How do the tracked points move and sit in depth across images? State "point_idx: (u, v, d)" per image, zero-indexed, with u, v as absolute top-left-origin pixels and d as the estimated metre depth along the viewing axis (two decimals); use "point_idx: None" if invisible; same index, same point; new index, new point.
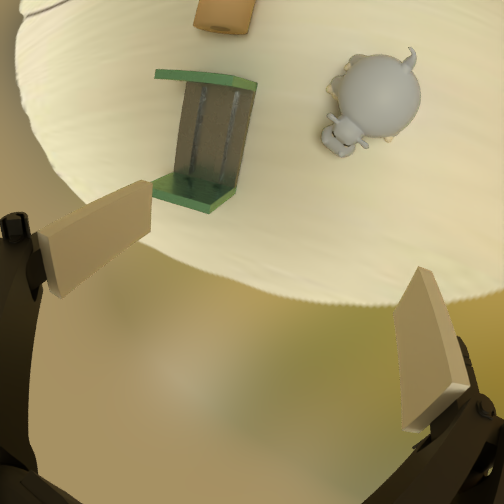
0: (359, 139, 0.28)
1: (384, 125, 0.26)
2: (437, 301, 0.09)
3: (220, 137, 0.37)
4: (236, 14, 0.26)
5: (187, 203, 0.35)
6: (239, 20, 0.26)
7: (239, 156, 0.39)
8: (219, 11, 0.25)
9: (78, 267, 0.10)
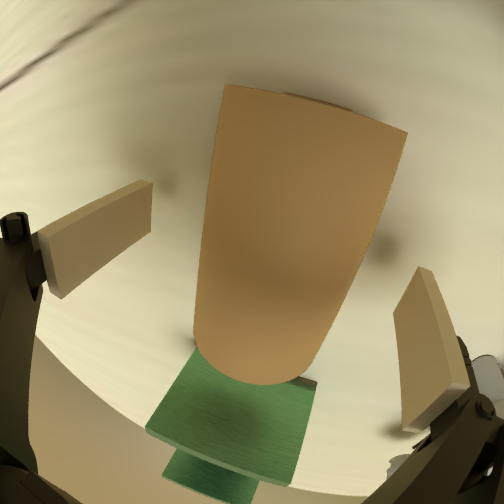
0: None
1: None
2: (437, 301, 0.09)
3: None
4: (301, 361, 0.13)
5: (220, 501, 0.23)
6: (307, 363, 0.14)
7: None
8: (261, 365, 0.12)
9: (78, 267, 0.10)
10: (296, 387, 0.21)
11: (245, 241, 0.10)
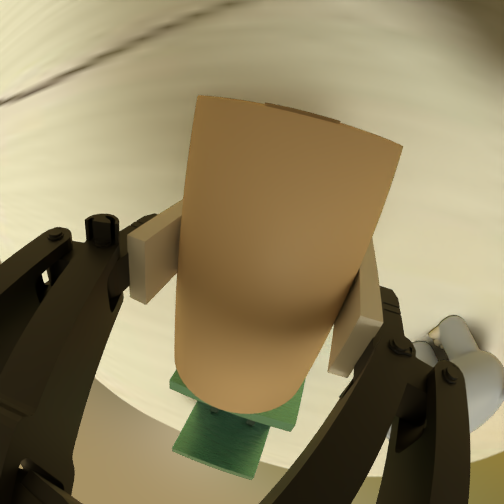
0: None
1: None
2: (367, 255, 0.11)
3: None
4: (290, 388, 0.12)
5: (227, 471, 0.27)
6: (295, 389, 0.13)
7: None
8: (248, 396, 0.11)
9: (163, 271, 0.11)
10: None
11: (223, 275, 0.09)
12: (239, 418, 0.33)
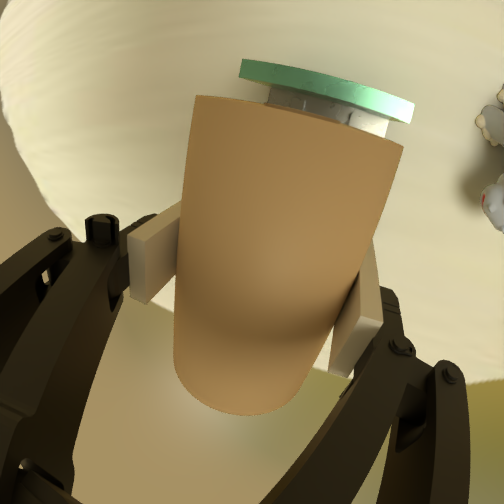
0: None
1: None
2: (367, 255, 0.11)
3: None
4: (289, 390, 0.12)
5: None
6: (295, 391, 0.13)
7: None
8: (247, 398, 0.11)
9: (163, 271, 0.11)
10: None
11: (222, 277, 0.08)
12: None
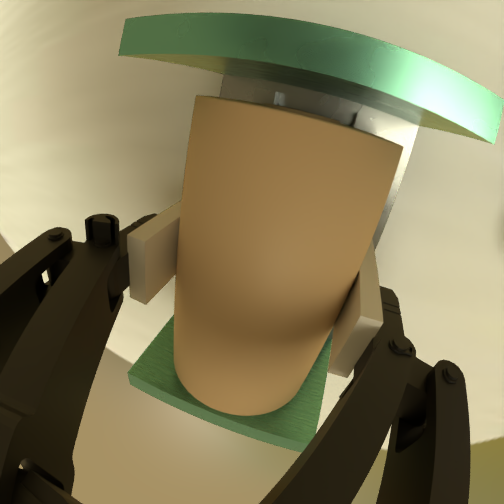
0: None
1: None
2: (367, 255, 0.11)
3: None
4: (289, 390, 0.12)
5: (251, 433, 0.13)
6: (295, 391, 0.13)
7: None
8: (247, 398, 0.11)
9: (163, 271, 0.11)
10: None
11: (222, 277, 0.08)
12: None
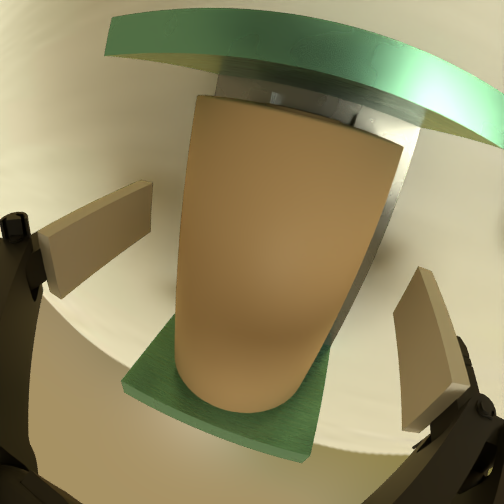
0: None
1: None
2: (437, 301, 0.09)
3: None
4: (289, 388, 0.12)
5: (246, 443, 0.12)
6: (295, 388, 0.13)
7: (356, 290, 0.16)
8: (247, 395, 0.11)
9: (78, 267, 0.10)
10: None
11: (223, 275, 0.09)
12: None
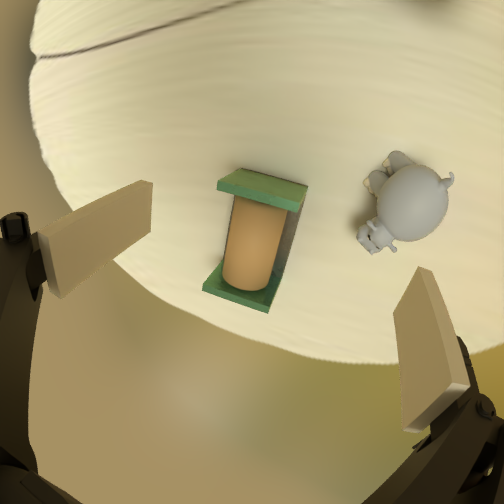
0: (390, 245, 0.34)
1: (413, 236, 0.31)
2: (437, 301, 0.09)
3: None
4: (261, 280, 0.41)
5: (248, 303, 0.41)
6: (264, 283, 0.42)
7: (288, 253, 0.45)
8: (248, 280, 0.40)
9: (78, 267, 0.10)
10: (296, 184, 0.40)
11: (243, 240, 0.38)
12: None
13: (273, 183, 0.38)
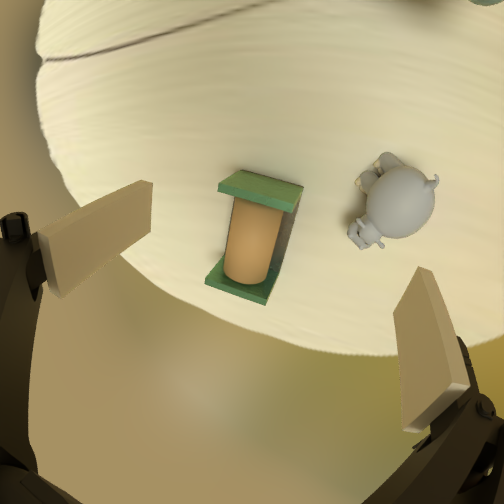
0: (378, 241, 0.36)
1: (400, 234, 0.34)
2: (437, 301, 0.09)
3: None
4: (259, 274, 0.44)
5: (247, 296, 0.44)
6: (262, 277, 0.45)
7: (285, 249, 0.48)
8: (247, 275, 0.43)
9: (78, 267, 0.10)
10: (292, 185, 0.43)
11: (242, 238, 0.41)
12: None
13: (270, 184, 0.41)
